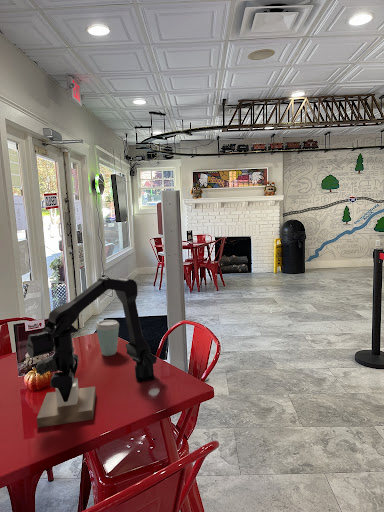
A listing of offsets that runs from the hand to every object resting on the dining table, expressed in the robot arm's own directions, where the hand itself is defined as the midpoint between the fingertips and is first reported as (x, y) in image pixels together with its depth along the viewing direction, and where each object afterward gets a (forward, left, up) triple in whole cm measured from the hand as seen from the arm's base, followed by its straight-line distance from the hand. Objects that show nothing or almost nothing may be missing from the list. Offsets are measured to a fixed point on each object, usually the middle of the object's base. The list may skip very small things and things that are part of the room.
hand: (67, 394), depth 116 cm
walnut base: (0, 0, -5) cm, 5 cm away
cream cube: (0, 0, -2) cm, 2 cm away
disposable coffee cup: (-12, -46, -5) cm, 48 cm away
